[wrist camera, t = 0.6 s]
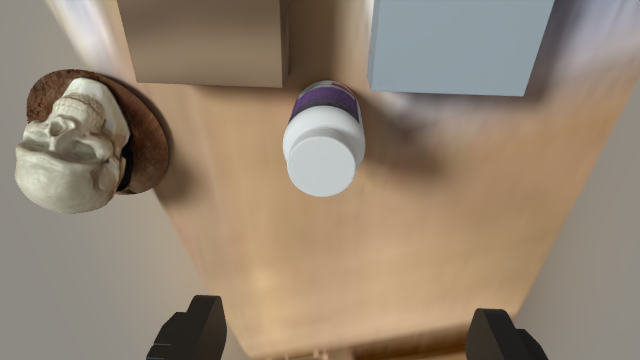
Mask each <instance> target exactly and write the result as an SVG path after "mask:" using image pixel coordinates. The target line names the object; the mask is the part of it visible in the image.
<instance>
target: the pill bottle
mask: <svg viewBox="0 0 640 360" xmlns="http://www.w3.org/2000/svg"><path fill="white" fill-rule="evenodd" d="M283 152H284V156H285V159H286V161H287V168H288V173H289V176H290V178H291V180H292V182H293V183H294V184H295V186H296V187H298V188H299V189H300V190H301V191H303V192H305V193H307V194H309V195H312V196H317V197H328V196H333V195H336V194H338V193H340V192H342V191H343V190H345V189H346V188H347V187H348V186H349V185H350V183H351V182H352V180H353V178H354V176H355V172H356V170H357V169H358V167H359V166H360V164H361V163H362V160H363V158H364V154H365V135H364V129H363V123H362V117H361V110H360V106H359V103H358V100H357V98H356V97H355V95H354V94H353V92H352V91H351V90H350V89H349V88H348V87H346V86H345V85H343V84H341V83H338V82H335V81H329V80H326V81H319V82H315V83H313V84H311V85H309V86H308V87H306V88H305V89H304V90H303V91H302V92H301V93H300V95H299V96H298V98H297V100H296V102H295V105H294V108H293V111H292V114H291V117H290V120H289V122H288V125H287V127H286V130H285V134H284V138H283Z"/></svg>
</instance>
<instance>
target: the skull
mask: <svg viewBox="0 0 640 360" xmlns="http://www.w3.org/2000/svg"><path fill="white" fill-rule="evenodd" d="M27 117H28V121H29V122H28V125H27V126H26V128H25V132H24V135H23V142H22V143H20V144H19V145H18V146H17V147H16V157H17V163H16V170H15V179H16V182H17V184H18V186H19V187H20V189H21V190H22V192H23V193H24V194H25V195H26V196H27V197H28V198H29V199H30V200H31V201H33V202H34V203H36V204H38V205H40V206H43V207H44V208H47V209H49V210H52V211H56V212H60V213H68V214H76V213H83V212H89V211H93V210H96V209H99V208H101V207H103V206H105V205H106V204H107V203H108V202H109V201H110V200H111V199H112V198H113V196H114V194H118V195H130V194H131V195H132V194H138V193H142V192H145V191H147V190H149V189H151V188H153V187H154V186H155V185H157V184H158V183H159V182H160V181H161V179H162V178H163V176H164V174H165V173H166V170H167V167H168V160H169V152H168V146H167V141H166V138H165V135H164V132H163V131H162V128H161V126H160V124H159V123H158V121H157V119H156V118H155V117H154V115H153V114H152V112H151V111H150V110H148V107H147V105H146V106H145V105H144V104H143V103H142V102H141V101H140V100H139V99H138V98H137V96H135V95H134V94H132V93H131V92H130V91H129V90H127V89H126V88H124V87H123V86H121V85H120V84H118V83H116V82H114V81H113V80H110V79H108V78H106V77H104V76H102V75H99V74H97V73H94V72H88V71H85V70H78V69H77V70H74V69H69V70H60V71H56V72H52V73H49V74H47V75H45V76H44V77H42V78H40V80H38V81H37V82H36V83H35V85H34V86H33V88H32V89H31V91H30V94H29V96H28V99H27Z"/></svg>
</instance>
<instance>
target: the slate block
mask: <svg viewBox="0 0 640 360" xmlns="http://www.w3.org/2000/svg"><path fill="white" fill-rule="evenodd" d="M554 1H555V0H374V8H373V19H372V30H371V41H370V52H369V63H368V74H367V77H368V81H369V84H370V88H371V91H387V92H415V93H443V94H471V95H499V96H524V93H525V90H526V87H527V84H528V81H529V78H530V75H531V71H532V68H533V65H534V62H535V59H536V56H537V53H538V50H539V47H540V44H541V41H542V38H543V35H544V31H545V28H546V25H547V22H548V19H549V16H550V13H551V10H552V7H553V4H554Z"/></svg>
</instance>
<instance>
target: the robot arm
mask: <svg viewBox="0 0 640 360" xmlns="http://www.w3.org/2000/svg"><path fill="white" fill-rule="evenodd" d="M226 335H227V326H226V320H225V315H224V310H223V305H222V300H221V297H220V296H210V295H209V296H208V295H196V296H194V298H193V299H192V301H191V303H190V306H189V308H188V310H187V312H176V313H175V314H174V315H173V316H172V317H171V318H170V319H169V320H168V321H167V322H166V323H165V324H164V325H163V326H162V328H161V330H160V331H159V333H158V335H157V337H156V339H155V341H154V345H153V346H152V347H151V349H150V351H149V353H148V354H147V357H146V360H221V356H222V353H223V350H224V347H225V342H226ZM465 351H466V357H467V360H548V358H547V356H546V355H545V353H544V351H543V349H542V348H541V346H540V344H539V343H538V342H537V341H536V340H535V339H534V338H533V337H532V336H531V335H530V334H529V333H528V332H527V331H526V330H525V329H516V328H515V327H514V325H513V323H512V321H511V319H510V317H509V315H508V313H507V312H506V311H505V310H503V309H482V308H478V309H476V311H475V313H474V316H473V319H472V322H471V325H470V328H469V331H468V334H467V337H466V341H465Z"/></svg>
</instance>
